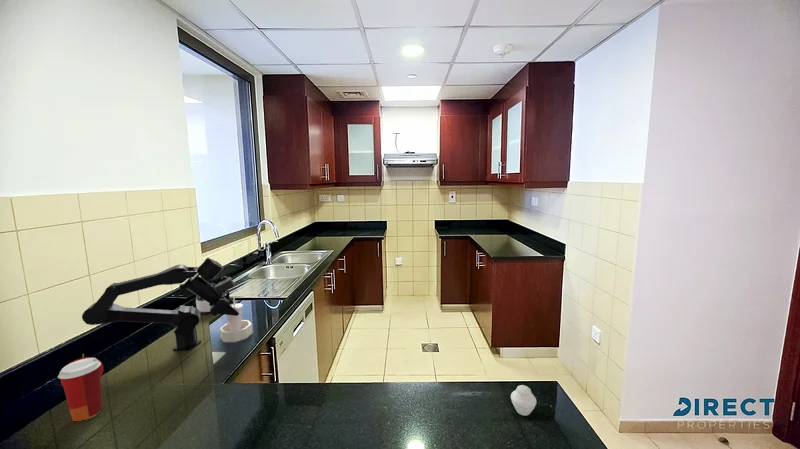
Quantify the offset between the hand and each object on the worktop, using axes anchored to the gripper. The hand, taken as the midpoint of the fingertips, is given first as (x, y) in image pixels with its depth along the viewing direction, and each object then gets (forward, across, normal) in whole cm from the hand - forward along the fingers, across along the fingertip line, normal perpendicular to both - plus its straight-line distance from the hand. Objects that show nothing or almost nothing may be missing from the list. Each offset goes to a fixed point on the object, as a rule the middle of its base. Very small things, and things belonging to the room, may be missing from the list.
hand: (238, 311), depth 124 cm
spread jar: (-1, +36, +16) cm, 40 cm away
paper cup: (-18, -30, +33) cm, 48 cm away
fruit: (-22, -13, +37) cm, 45 cm away
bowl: (+6, 0, +8) cm, 10 cm away
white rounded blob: (+52, -84, -39) cm, 106 cm away
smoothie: (+4, 0, +6) cm, 7 cm away
